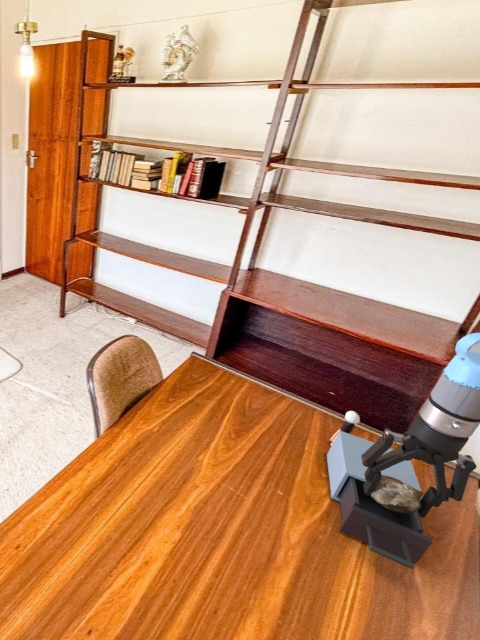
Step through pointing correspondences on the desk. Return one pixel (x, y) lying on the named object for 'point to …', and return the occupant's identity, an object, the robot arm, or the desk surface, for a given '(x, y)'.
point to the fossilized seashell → (396, 495)
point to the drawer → (382, 526)
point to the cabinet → (360, 464)
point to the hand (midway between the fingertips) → (392, 501)
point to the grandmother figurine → (347, 424)
